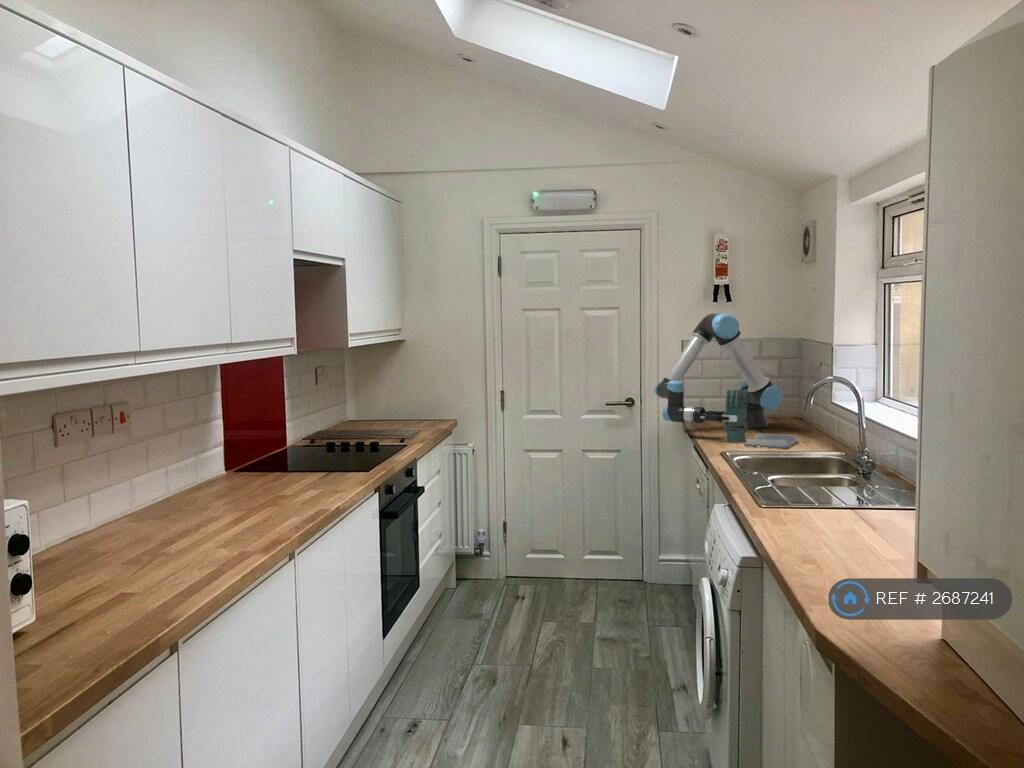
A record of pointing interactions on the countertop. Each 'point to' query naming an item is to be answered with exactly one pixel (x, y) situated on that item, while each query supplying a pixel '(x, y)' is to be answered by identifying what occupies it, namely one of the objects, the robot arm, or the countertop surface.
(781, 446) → the rail dock
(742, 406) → the robotic hand
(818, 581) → the countertop surface
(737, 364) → the robot arm
